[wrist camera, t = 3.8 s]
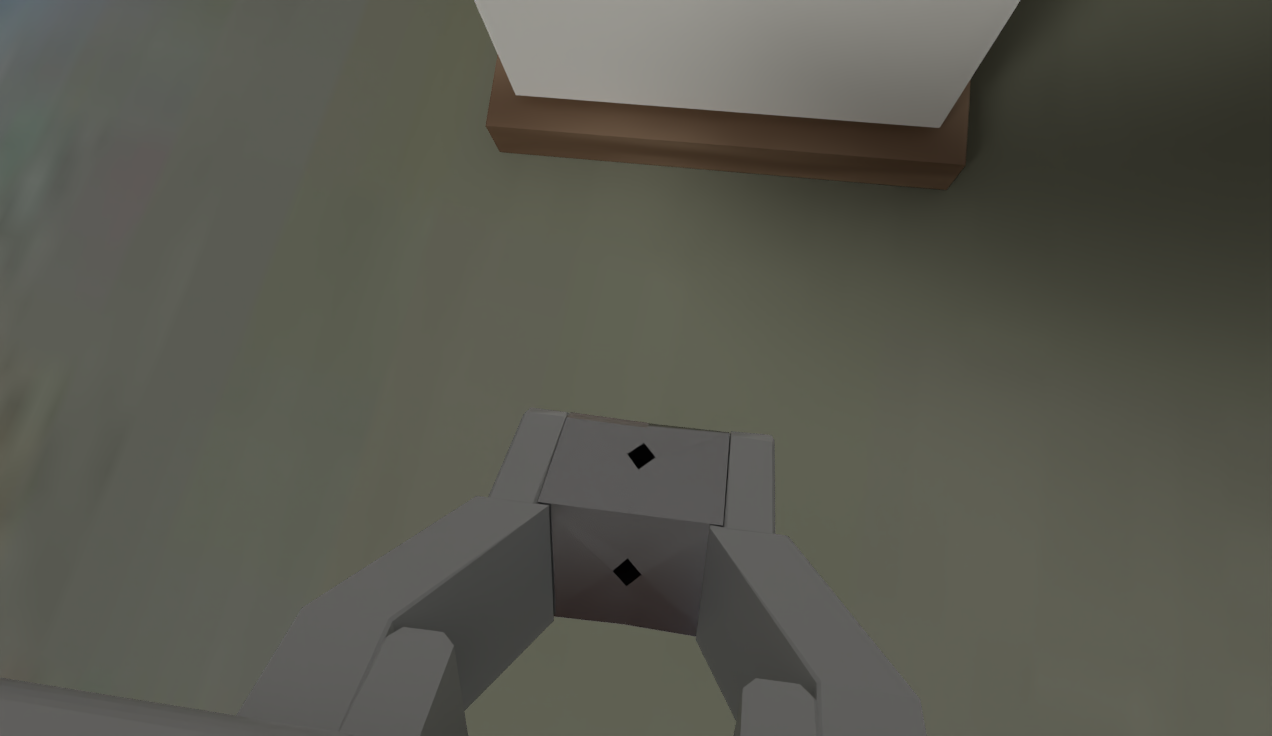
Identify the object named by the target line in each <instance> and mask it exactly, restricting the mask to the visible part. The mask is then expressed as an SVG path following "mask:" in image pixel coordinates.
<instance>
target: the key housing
mask: <svg viewBox="0 0 1272 736" xmlns="http://www.w3.org/2000/svg"><path fill="white" fill-rule="evenodd" d="M970 83H971V79H970V81H969V82H968V84H967V86H966V87H965V89H964V90H963V92H962V93H961V95H960V97H959V98H958V100H957V101H956V103H955V104H954V106H953V108H952V109H951V111H950V112H949V114H948V116H947V117H946V119H945V120H944V122H943V123H942V125H941V127H940V128H932V127H920V126H907V125H894V124H881V123H868V122H855V121H842V120H829V119H817V118H804V117H791V116H778V115H765V114H752V113H739V112H726V111H714V110H701V109H688V108H675V107H662V106H649V105H636V104H623V103H611V102H598V101H585V100H572V99H559V98H546V97H533V96H521V95H515V92H514V90H513V88H512V86H511V83H510V81H509V79H508V76H507V74H506V72H505V70H504V67H503V65H502V63H501V60H500V58H499V56H497V62H496V68H495V74H494V79H493V85H492V91H491V97H490V103H489V109H488V115H487V121H486V127H487V129H488V131H489V133H490V135H491V136H492V138H493V140H494V142H495V144H496V145H497V147H498V149H499V151H500V152H506V153H518V154H530V155H542V156H553V157H565V158H577V159H589V160H600V161H612V162H624V163H636V164H647V165H659V166H671V167H683V168H694V169H706V170H718V171H730V172H741V173H753V174H765V175H777V176H788V177H800V178H812V179H823V180H835V181H847V182H859V183H870V184H882V185H894V186H906V187H917V188H929V189H941V190H947V189H948V187H949V186H950V185H951V183H952V182H953V181H954V180H955V178H956V177H957V176H958V174H959V173H960V172H961V171H962V169H963V168H964V167H965V165H966V152H967V135H968V117H969V100H970Z"/></svg>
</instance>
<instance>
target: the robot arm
mask: <svg viewBox="0 0 1272 736" xmlns="http://www.w3.org/2000/svg"><path fill="white" fill-rule="evenodd" d="M554 616H555V617H564V618H573V619H581V620H590V621H599V622H608V623H617V624H625V625H631V626H637V627H643V628H649V629H655V630H660V631H666V632H672V633H678V634H684V635H690V636H696V641H697V643H698V645H699V647H700V649H701V651H702V653H703V655H704V658H705V660H706V662H707V664H708V666H709V668H710V670H711V672H712V674H713V676H714V678H715V680H716V682H717V684H718V686H719V688H720V690H721V692H722V694H723V696H724V698H725V700H726V702H727V704H728V706H729V708H730V710H731V712H732V714H733V716H734V718H735V720H736V726H735V731H734V736H926V730H925V724H924V718H923V712H922V706H921V701H920V698H919V697H918V696H917V695H916V693H915V692H914V691H913V690H912V688H911V687H910V686H909V685H908V683H907V682H906V681H905V680H904V678H903V677H902V676H901V675H900V674H899V672H898V671H897V670H896V669H895V667H894V666H893V665H892V664H891V662H890V661H889V660H888V659H887V657H886V656H885V655H884V654H883V653H882V651H881V650H880V649H879V648H878V646H877V645H876V644H875V643H874V641H873V640H872V639H871V638H870V636H869V635H868V634H867V633H866V632H865V630H864V629H863V628H862V627H861V625H860V624H859V623H858V622H857V620H856V619H855V618H854V617H853V615H852V614H851V613H850V612H849V611H848V609H847V608H846V607H845V606H844V604H843V603H842V602H841V601H840V599H839V598H838V597H837V596H836V594H835V593H834V592H833V591H832V590H831V588H830V587H829V586H828V585H827V583H826V582H825V581H824V580H823V578H822V577H821V576H820V575H819V573H818V572H817V571H816V570H815V568H814V567H813V566H812V565H811V564H810V562H809V561H808V560H807V559H806V557H805V556H804V555H803V554H802V552H801V551H800V550H799V549H798V547H797V546H796V545H795V544H794V543H793V541H792V540H791V539H790V538H789V536H786V535H779V534H775V443H774V439H773V437H772V435H765V434H755V433H744V432H733V431H731V433H729V432H722V431H713V430H704V429H695V428H686V427H677V426H668V425H659V424H649V423H645V422H638V421H630V420H623V419H616V418H609V417H601V416H594V415H587V414H580V413H572V412H571V413H567V412H561V411H554V410H546V409H538V408H530V409H528V410H527V411H526V412H525V413H524V414H523V417H522V419H521V421H520V424H519V426H518V428H517V431H516V433H515V435H514V438H513V440H512V442H511V445H510V447H509V449H508V452H507V454H506V456H505V459H504V461H503V464H502V466H501V468H500V471H499V473H498V475H497V478H496V480H495V482H494V485H493V487H492V489H491V492H490V494H489V496H488V497H481V496H475V497H474V498H472V499H471V500H469V501H467V502H466V503H464V504H463V505H461V506H460V507H458V508H457V509H455V510H453V511H452V512H450V513H449V514H447V515H446V516H444V517H442V518H441V519H439V520H438V521H436V522H435V523H433V524H432V525H430V526H428V527H427V528H425V529H424V530H422V531H421V532H419V533H418V534H416V535H414V536H413V537H411V538H410V539H408V540H407V541H405V542H403V543H402V544H400V545H399V546H397V547H396V548H394V549H393V550H391V551H389V552H388V553H386V554H385V555H383V556H382V557H380V558H379V559H377V560H375V561H374V562H372V563H371V564H369V565H368V566H366V567H364V568H363V569H361V570H360V571H358V572H357V573H355V574H354V575H352V576H350V577H349V578H347V579H346V580H344V581H343V582H341V583H340V584H338V585H336V586H335V587H333V588H332V589H330V590H329V591H327V592H326V593H324V594H322V595H321V596H319V597H318V598H316V599H315V600H313V601H311V602H310V603H308V604H307V605H305V606H304V607H302V608H301V610H300V611H299V613H298V615H297V616H296V618H295V620H294V621H293V623H292V625H291V626H290V628H289V630H288V631H287V633H286V634H285V636H284V638H283V639H282V641H281V643H280V644H279V646H278V648H277V649H276V651H275V653H274V654H273V656H272V658H271V659H270V661H269V662H268V664H267V666H266V667H265V669H264V671H263V672H262V674H261V676H260V677H259V679H258V681H257V682H256V684H255V685H254V687H253V689H252V690H251V692H250V694H249V695H248V697H247V699H246V700H245V702H244V704H243V705H242V707H241V709H240V710H239V712H238V713H237V715H230V714H224V713H217V712H211V711H205V710H199V709H193V708H186V707H180V706H174V705H168V704H162V703H155V702H149V701H143V700H137V699H130V698H124V697H118V696H112V695H106V694H99V693H93V692H87V691H81V690H74V689H68V688H62V687H56V686H50V685H43V684H37V683H31V682H25V681H19V680H12V679H6V678H0V736H468V732H467V725H466V719H465V713H464V711H465V710H466V709H467V708H468V707H469V706H470V705H471V704H472V703H473V702H474V701H475V700H476V699H477V698H478V697H479V696H480V695H481V694H482V693H483V692H484V691H485V690H486V689H487V688H488V687H489V686H490V685H491V684H492V683H493V682H494V681H495V680H496V679H497V678H498V677H499V676H500V675H501V674H502V672H503V671H504V670H505V669H506V668H507V667H508V666H509V665H510V664H511V663H512V662H513V661H514V660H515V659H516V658H517V657H518V656H519V655H520V654H521V653H522V652H523V651H524V650H525V649H526V648H527V647H528V646H529V645H530V644H531V643H532V642H533V641H534V640H535V639H536V638H537V637H538V636H539V635H540V634H541V633H542V632H543V631H544V630H545V629H546V628H547V627H548V626H549V625H550V624H551V623H552V622H553V621H554Z"/></svg>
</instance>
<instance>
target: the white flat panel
mask: <svg viewBox="0 0 1272 736" xmlns="http://www.w3.org/2000/svg"><path fill="white" fill-rule="evenodd" d="M474 1H475V3H476V6H477V8H478V10H479V12H480V15H481V17H482V19H483V22H484V24H485V26H486V28H487V31H488V33H489V35H490V38H491V40H492V42H493V44H494V47H495V49H496V51H497V54H498V56H499V58H500V60H501V63H502V65H503V67H504V70H505V72H506V74H507V76H508V79H509V81H510V83H511V86H512V88H513V90H514V92H515V95H521V96H533V97H546V98H559V99H572V100H585V101H598V102H611V103H623V104H636V105H649V106H662V107H675V108H688V109H701V110H714V111H726V112H739V113H752V114H765V115H778V116H791V117H804V118H817V119H829V120H842V121H855V122H868V123H881V124H894V125H907V126H920V127H932V128H940V127H941V125H942V123H943V122H944V120H945V119H946V117H947V116H948V114H949V112H950V111H951V109H952V108H953V106H954V104H955V103H956V101H957V100H958V98H959V97H960V95H961V93H962V92H963V90H964V89H965V87H966V86H967V84H968V82H969V81H970V79H971V78H972V76H973V74H974V73H975V71H976V70H977V68H978V67H979V65H980V63H981V62H982V60H983V59H984V57H985V56H986V54H987V52H988V51H989V49H990V48H991V46H992V45H993V43H994V41H995V40H996V38H997V37H998V35H999V33H1000V32H1001V30H1002V29H1003V27H1004V26H1005V24H1006V22H1007V21H1008V19H1009V18H1010V16H1011V15H1012V13H1013V11H1014V10H1015V8H1016V7H1017V5H1018V3H1019V2H1020V0H474Z"/></svg>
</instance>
